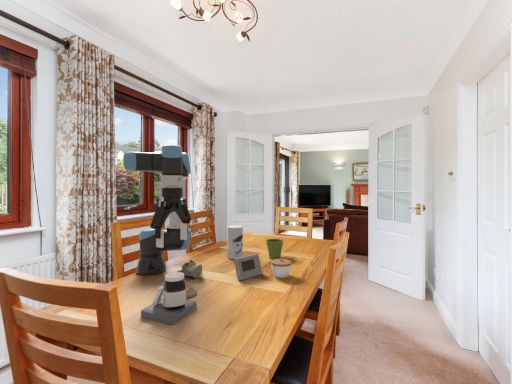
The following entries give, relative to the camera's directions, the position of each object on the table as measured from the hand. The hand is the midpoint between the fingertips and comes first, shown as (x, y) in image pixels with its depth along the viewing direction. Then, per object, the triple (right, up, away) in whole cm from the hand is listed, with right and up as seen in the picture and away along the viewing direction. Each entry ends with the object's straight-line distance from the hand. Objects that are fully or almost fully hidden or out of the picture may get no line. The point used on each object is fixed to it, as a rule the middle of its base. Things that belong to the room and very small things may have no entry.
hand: (172, 243), depth 104 cm
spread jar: (-1, -23, -2) cm, 23 cm away
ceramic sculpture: (-2, -24, +38) cm, 45 cm away
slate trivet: (-1, -25, -2) cm, 25 cm away
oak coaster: (+1, -25, +15) cm, 29 cm away
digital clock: (+28, -25, +38) cm, 53 cm away
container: (+18, -23, +74) cm, 80 cm away
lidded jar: (+45, -25, +39) cm, 64 cm away
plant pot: (+44, -23, +73) cm, 88 cm away
